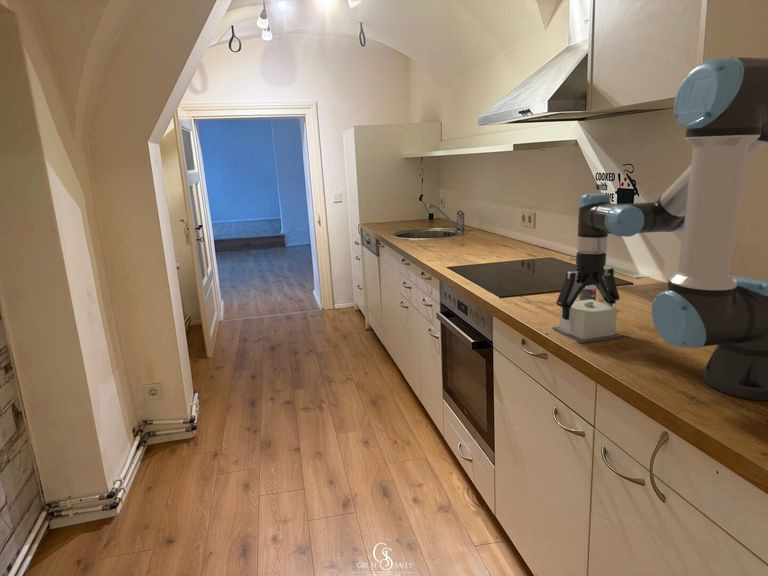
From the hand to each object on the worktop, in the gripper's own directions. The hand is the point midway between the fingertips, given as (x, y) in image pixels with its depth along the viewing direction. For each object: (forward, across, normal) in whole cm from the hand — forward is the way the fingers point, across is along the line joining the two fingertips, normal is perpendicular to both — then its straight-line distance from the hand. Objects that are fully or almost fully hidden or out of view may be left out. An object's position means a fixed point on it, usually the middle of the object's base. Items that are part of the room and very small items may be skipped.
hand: (586, 327), depth 143 cm
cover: (+1, 0, 0) cm, 1 cm away
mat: (+2, 0, 0) cm, 2 cm away
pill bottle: (+2, -19, -24) cm, 31 cm away
